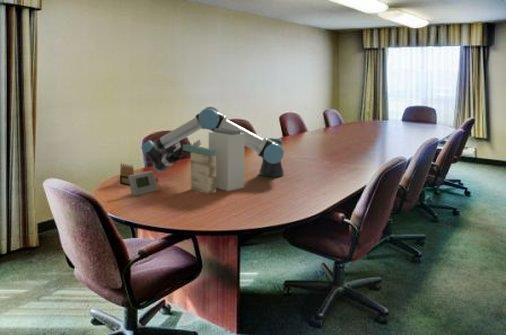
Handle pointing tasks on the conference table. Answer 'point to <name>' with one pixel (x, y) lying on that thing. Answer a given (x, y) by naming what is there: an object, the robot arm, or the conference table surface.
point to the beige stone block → (203, 173)
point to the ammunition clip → (125, 173)
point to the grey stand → (228, 157)
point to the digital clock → (142, 183)
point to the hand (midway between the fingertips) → (189, 143)
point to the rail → (199, 150)
